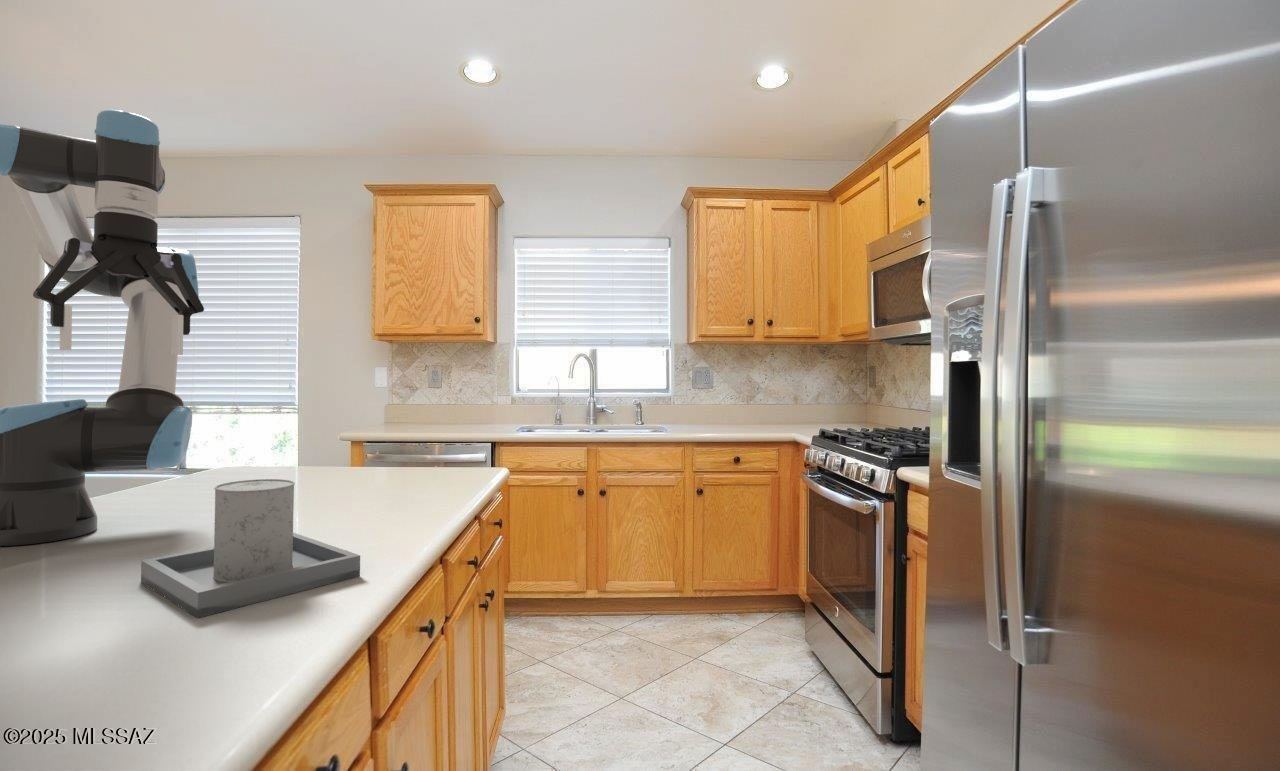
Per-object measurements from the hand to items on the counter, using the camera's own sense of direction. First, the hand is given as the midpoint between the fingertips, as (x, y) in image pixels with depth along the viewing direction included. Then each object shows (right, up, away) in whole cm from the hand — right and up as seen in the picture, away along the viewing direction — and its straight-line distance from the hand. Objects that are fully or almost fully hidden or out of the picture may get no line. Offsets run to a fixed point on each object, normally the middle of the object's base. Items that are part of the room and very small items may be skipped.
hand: (124, 352), depth 94 cm
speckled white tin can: (+26, -32, -9) cm, 42 cm away
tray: (+26, -32, -9) cm, 42 cm away
